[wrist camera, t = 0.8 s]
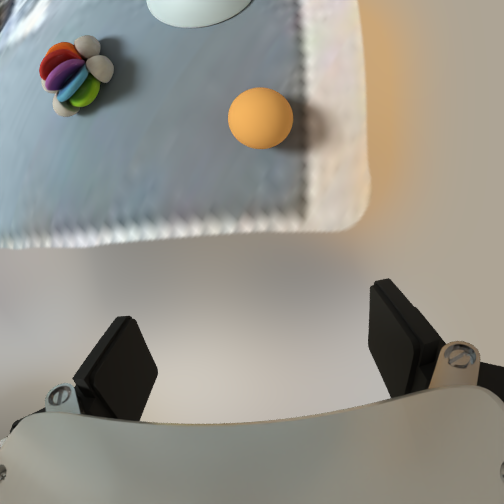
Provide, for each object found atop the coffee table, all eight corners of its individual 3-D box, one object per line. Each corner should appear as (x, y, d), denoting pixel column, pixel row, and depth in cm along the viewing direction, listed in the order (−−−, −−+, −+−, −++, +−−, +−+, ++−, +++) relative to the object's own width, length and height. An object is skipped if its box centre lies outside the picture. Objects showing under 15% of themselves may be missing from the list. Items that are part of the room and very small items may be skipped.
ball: (225, 99, 26) (218, 89, 21) (283, 89, 26) (289, 76, 20) (237, 153, 29) (232, 155, 23) (294, 143, 28) (303, 143, 22)
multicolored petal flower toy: (95, 32, 23) (64, 15, 16) (126, 80, 26) (95, 68, 19) (50, 76, 24) (14, 70, 18) (76, 126, 27) (39, 127, 20)
